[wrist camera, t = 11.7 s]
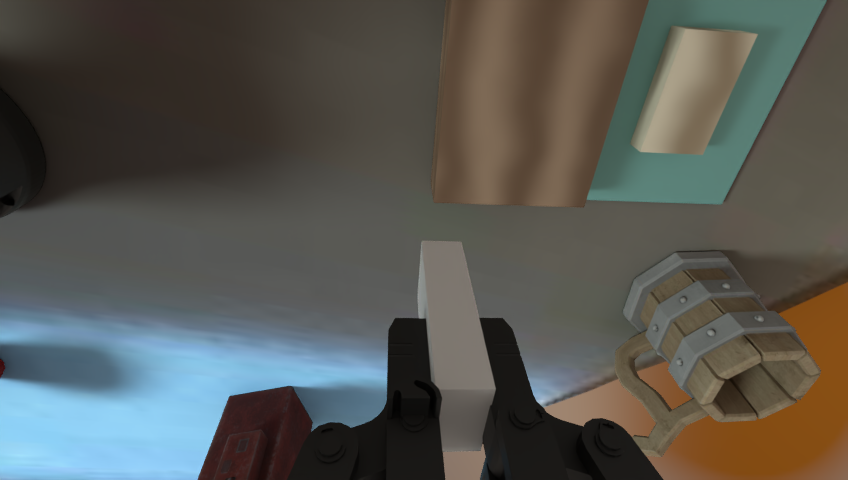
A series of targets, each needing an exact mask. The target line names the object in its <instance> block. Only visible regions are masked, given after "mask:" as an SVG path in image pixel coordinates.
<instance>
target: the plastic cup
mask: <svg viewBox="0 0 848 480" xmlns="http://www.w3.org/2000/svg"><path fill="white" fill-rule="evenodd" d="M4 370H5V365H4V362H3V361H2V360H1V359H0V378H1V376H2V374H3V371H4Z"/></svg>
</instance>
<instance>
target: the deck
mask: <svg viewBox="0 0 848 480" xmlns="http://www.w3.org/2000/svg"><path fill="white" fill-rule="evenodd" d="M648 2H649V0H446V5H445V17H444V29H443V41H442V53H441V65H440V77H439V90H438V102H437V114H436V126H435V138H434V150H433V162H432V174H431V188H432V194H433V200H434V203H461V204H492V205H523V206H554V207H584V206H585V203H586V199H587V196H588V193H589V190H590V187H591V184H592V180H593V177H594V174H595V171H596V168H597V164H598V161H599V158H600V155H601V152H602V148H603V145H604V142H605V139H606V136H607V132H608V129H609V126H610V123H611V120H612V117H613V113H614V110H615V107H616V104H617V101H618V97H619V94H620V91H621V88H622V85H623V81H624V78H625V75H626V72H627V69H628V65H629V62H630V59H631V56H632V53H633V49H634V46H635V43H636V40H637V37H638V34H639V30H640V27H641V24H642V21H643V18H644V14H645V11H646V8H647V5H648Z"/></svg>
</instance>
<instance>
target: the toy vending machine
mask: <svg viewBox="0 0 848 480" xmlns="http://www.w3.org/2000/svg"><path fill="white" fill-rule="evenodd" d="M312 423H313V422H312V421H311V419H310V417H309V415H308V414H307V412H306V410H305V408H304V407H303V405H302V403H301V401H300V400H299V398H298V396H297V394H296V393H295V391H294V389H293V387H291V386H287V387H281V388H275V389H269V390H263V391H257V392H251V393H246V394H240V395H234V396H230V397H229V398H228V401H227V404H226V406H225V409H224V412H223V414H222V417H221V419H220V422H219V425H218V427H217V430H216V433H215V435H214V438H213V440H212V443H211V446H210V448H209V451H208V454H207V456H206V459H205V461H204V464H203V467H202V469H201V472H200V474H199V477H198V480H287V478H288V476H289V474H290V472H291V469H292V467H293V465H294V463H295V461H296V458H297V456H298V454H299V452H300V449H301V447H302V445H303V443H304V441H305V439H306V438H307V437H308V435H309V434H310V432H311V429H312Z"/></svg>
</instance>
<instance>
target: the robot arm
mask: <svg viewBox="0 0 848 480" xmlns="http://www.w3.org/2000/svg"><path fill="white" fill-rule="evenodd" d="M44 177H45V158H44V154H43V150H42V147H41V144H40V141H39V139H38V137H37V135H36V133H35V131H34V129H33V127H32V126H31V124H30V123H29V121H28V120H27V118H26V117H25V115H24V114H23V113H22V112H21V110H20V109H19V108H18V107H17V105H16V104H15V103H14V102H13V101H12V100H11V99H10V98H9V97H8V96H7V95H6V94H5V93H4V92H3V91H2V90H1V89H0V218H1V217H4V216H6V215H8V214H10V213H12V212H13V211H15V210H16V209H18V208H20V207H21V206H23V205H24V204H26V203H27V202H29V201H30V200H31V199H32V198H34V197H35V195H36V194H37V193H38V192H39V190H40V188H41V187H42V184H43V181H44ZM418 311H419V318H395V320H394V321H393V323H392V325H391V327H390V328H389V333H388V372H387V402H386V405H385V407H384V409H383V410H382V412H381V413H380V414H379V415H378V416H377V417H376V418H374V419H373V420H371V421H369V422H367V423H365V424H362V425H359V426H356V427H353V428H350V427H349V426H347V425H344V424H342V423H331V422H330V423H327V424H324V425H320V426H318V427H317V428H316V429H314V430H313V431H312V432H310V434H309V435H308V437H307V438H306V439H305V441H304V443H303V445H302V447H301V449H300V452H299V454H298V456H297V458H296V461H295V463H294V465H293V467H292V469H291V472H290V474H289V476H288V478H287V480H445V473H444V462H443V452H444V451H480V450H481V446H482V443H483V444H484V449H485V455H486V458H485V462H484V466H483V470H482V473H481V478H480V480H663V479H662V477H661V476H660V475H659V473H658V472H657V471H656V469H655V468H654V466H653V465H652V464H651V462H650V461H649V460H648V458H647V457H646V456H645V454H644V453H643V452H642V450H641V449H640V448H639V446H638V445H637V444H636V442H635V441H634V440H633V438H632V437H631V436H630V435H629V434H628V433H627V431H626V430H625V429H624V428H622V427H621V426H619V425H618V424H616V423H614V422H612V421H609V420H606V419H603V418H600V419H592V420H590V421H588V422H586V423H585V425H584V427H583V426H579V425H576V424H573V423H569V422H566V421H562V420H560V419H557V418H555V417H553V416H551V415H550V414H548V413H547V412H546V411H545V409H544V408H543V407H542V406H541V405H540V404H539V403H538V402H537V401H536V400H535V397H534V395H533V392H532V389H531V386H530V383H529V380H528V377H527V374H526V370H525V367H524V364H523V361H522V358H521V356H520V351H519V348H518V345H517V342H516V339H515V336H514V332H513V330H512V328H511V327H510V326H509V325H508V324H507V323H506V321H505V320H504V319H503V318H479V315H478V311H477V306H476V302H475V298H474V294H473V289H472V285H471V281H470V277H469V272H468V268H467V264H466V259H465V255H464V251H463V247H462V242H451V241H422V244H421V257H420V271H419V284H418Z"/></svg>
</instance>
